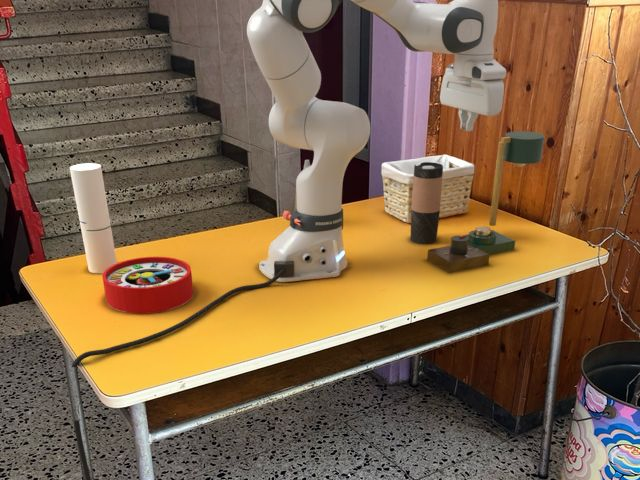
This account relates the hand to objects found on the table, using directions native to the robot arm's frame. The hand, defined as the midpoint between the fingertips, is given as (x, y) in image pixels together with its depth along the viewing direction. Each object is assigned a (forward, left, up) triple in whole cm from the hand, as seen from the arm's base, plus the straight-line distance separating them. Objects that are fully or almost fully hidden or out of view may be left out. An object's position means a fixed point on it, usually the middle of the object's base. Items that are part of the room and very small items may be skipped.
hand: (466, 130), depth 178 cm
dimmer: (-4, -7, -31) cm, 32 cm away
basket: (+12, +33, -31) cm, 47 cm away
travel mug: (-2, +12, -31) cm, 33 cm away
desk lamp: (+19, +3, -26) cm, 33 cm away
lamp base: (+9, -1, -31) cm, 32 cm away
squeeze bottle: (-24, +40, -31) cm, 56 cm away
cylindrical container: (-86, +31, -31) cm, 97 cm away
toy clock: (-80, +8, -31) cm, 86 cm away
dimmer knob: (-4, -7, -28) cm, 29 cm away
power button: (+7, -2, -27) cm, 27 cm away
